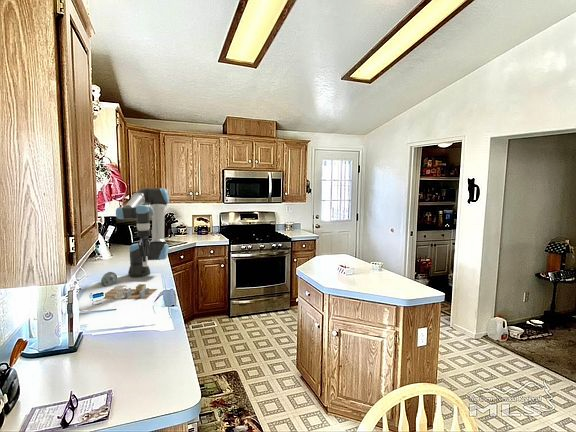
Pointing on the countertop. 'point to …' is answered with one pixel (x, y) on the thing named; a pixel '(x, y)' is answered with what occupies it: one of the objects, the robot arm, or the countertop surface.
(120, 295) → the bobbin
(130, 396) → the countertop surface
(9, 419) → the countertop surface
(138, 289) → the tab
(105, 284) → the spool
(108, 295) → the board
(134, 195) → the robot arm
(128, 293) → the notch block
